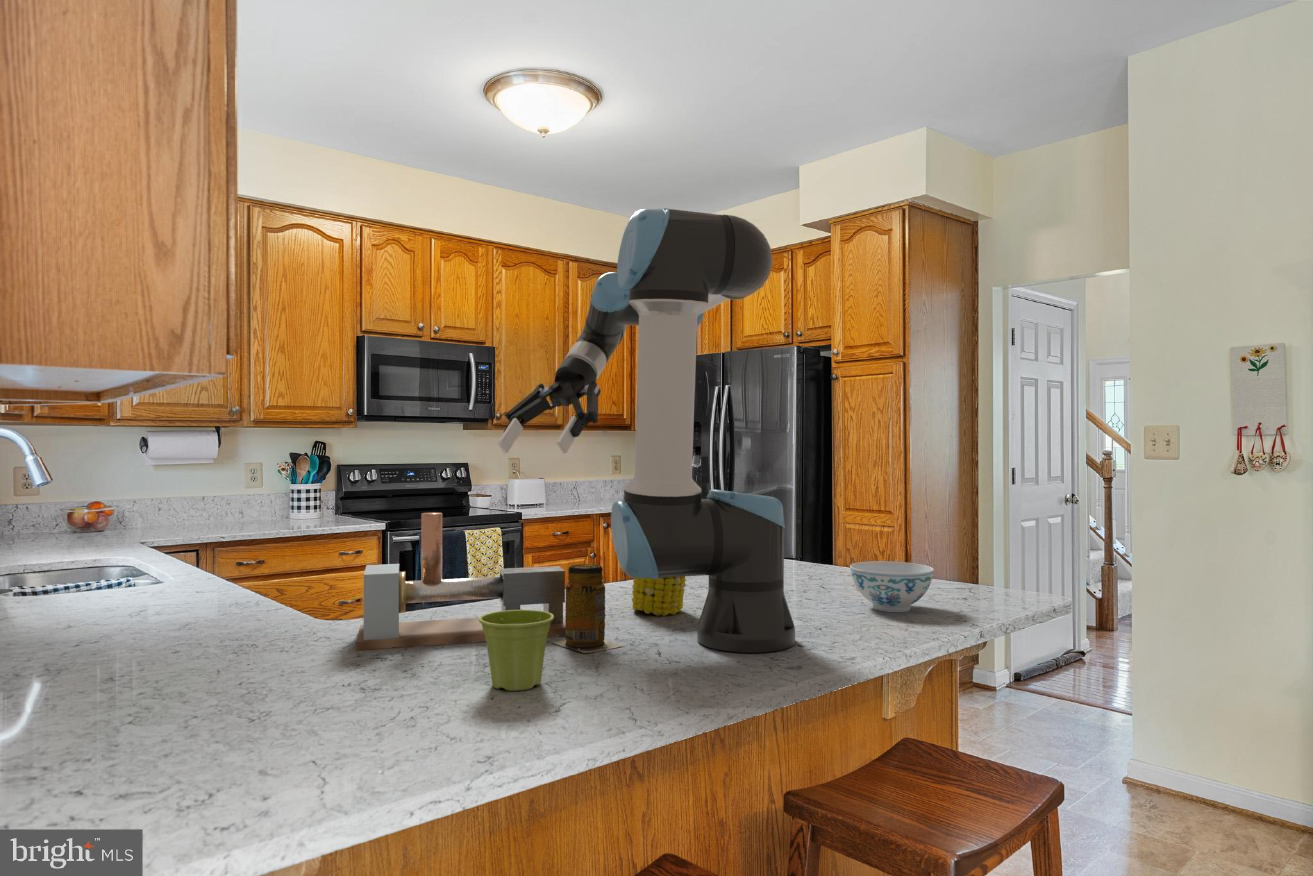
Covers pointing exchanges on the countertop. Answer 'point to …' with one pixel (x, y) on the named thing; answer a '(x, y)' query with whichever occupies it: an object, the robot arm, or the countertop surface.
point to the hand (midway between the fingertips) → (530, 448)
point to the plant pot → (516, 646)
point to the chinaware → (891, 583)
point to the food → (658, 595)
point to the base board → (437, 633)
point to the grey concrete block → (534, 589)
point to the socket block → (381, 601)
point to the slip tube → (431, 573)
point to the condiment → (585, 610)
